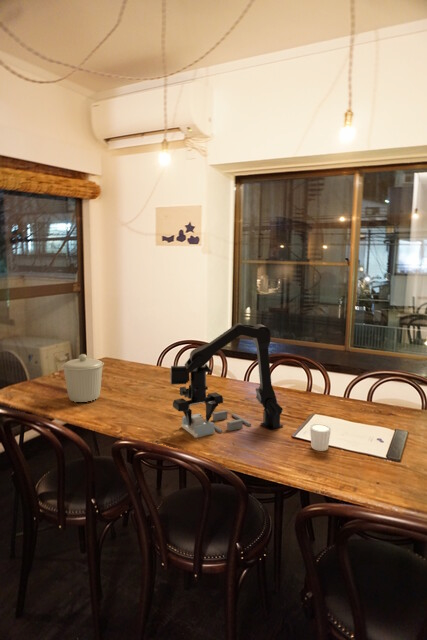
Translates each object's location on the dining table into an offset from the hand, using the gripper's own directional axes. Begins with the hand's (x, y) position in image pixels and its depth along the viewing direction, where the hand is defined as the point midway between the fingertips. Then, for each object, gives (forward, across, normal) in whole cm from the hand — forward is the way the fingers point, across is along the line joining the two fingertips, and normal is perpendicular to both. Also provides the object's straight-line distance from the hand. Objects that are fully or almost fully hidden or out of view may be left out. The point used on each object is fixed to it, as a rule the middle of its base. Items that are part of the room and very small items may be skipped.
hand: (198, 423), depth 159 cm
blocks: (+3, -13, 0) cm, 13 cm away
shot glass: (+3, -30, +33) cm, 45 cm away
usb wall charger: (+2, 0, 0) cm, 2 cm away
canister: (+2, +29, -56) cm, 63 cm away
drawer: (+3, 0, 0) cm, 3 cm away
